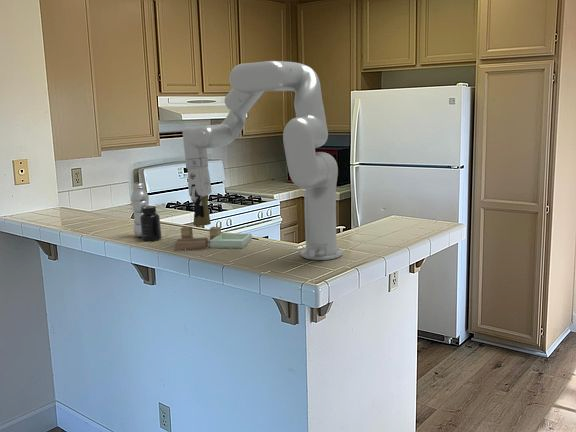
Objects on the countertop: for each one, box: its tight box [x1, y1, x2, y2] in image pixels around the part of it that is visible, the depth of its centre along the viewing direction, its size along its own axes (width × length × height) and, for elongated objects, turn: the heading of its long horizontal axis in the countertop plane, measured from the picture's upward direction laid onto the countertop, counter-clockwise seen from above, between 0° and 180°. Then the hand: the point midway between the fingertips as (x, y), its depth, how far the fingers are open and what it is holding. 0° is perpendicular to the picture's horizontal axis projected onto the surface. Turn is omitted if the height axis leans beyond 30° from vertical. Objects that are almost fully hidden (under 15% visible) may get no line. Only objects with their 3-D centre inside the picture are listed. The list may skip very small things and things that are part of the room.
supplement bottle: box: [140, 205, 162, 242], centre depth 205 cm, size 7×7×12 cm
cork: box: [193, 195, 212, 226], centre depth 197 cm, size 6×6×11 cm
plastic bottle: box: [130, 182, 150, 238], centre depth 210 cm, size 6×7×20 cm
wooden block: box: [174, 237, 209, 251], centre depth 191 cm, size 6×10×3 cm, turn 89°
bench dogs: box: [180, 226, 222, 241], centre depth 199 cm, size 3×14×5 cm, turn 77°
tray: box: [209, 232, 253, 249], centre depth 194 cm, size 11×11×2 cm
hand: (202, 215), depth 198 cm, fingers closed on cork, 3 cm apart
